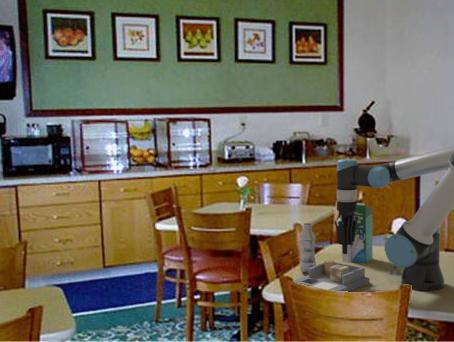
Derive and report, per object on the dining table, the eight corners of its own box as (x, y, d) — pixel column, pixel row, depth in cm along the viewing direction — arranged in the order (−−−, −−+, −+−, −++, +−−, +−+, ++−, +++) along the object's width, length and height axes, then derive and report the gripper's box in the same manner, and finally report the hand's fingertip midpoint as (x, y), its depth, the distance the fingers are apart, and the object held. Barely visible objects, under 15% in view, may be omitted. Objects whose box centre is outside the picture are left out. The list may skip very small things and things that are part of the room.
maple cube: (348, 279, 217) (348, 266, 217) (341, 282, 214) (341, 269, 213) (337, 277, 221) (337, 264, 220) (329, 280, 217) (329, 267, 217)
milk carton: (372, 258, 254) (372, 202, 252) (365, 263, 247) (365, 205, 244) (352, 256, 259) (352, 200, 256) (345, 261, 251) (344, 203, 249)
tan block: (337, 274, 225) (337, 261, 225) (331, 276, 222) (331, 263, 222) (328, 272, 228) (328, 259, 227) (322, 274, 225) (322, 262, 225)
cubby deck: (369, 282, 219) (369, 268, 219) (336, 297, 204) (335, 282, 203) (325, 273, 233) (325, 260, 233) (291, 286, 218) (290, 272, 217)
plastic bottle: (312, 276, 231) (311, 226, 229) (297, 273, 234) (296, 225, 232) (319, 271, 236) (318, 223, 234) (303, 269, 240) (302, 222, 238)
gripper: (347, 197, 225) (347, 256, 228) (328, 201, 216) (328, 263, 219) (364, 199, 220) (364, 259, 223) (345, 203, 211) (345, 267, 214)
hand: (346, 261), depth 221 cm, fingers closed
